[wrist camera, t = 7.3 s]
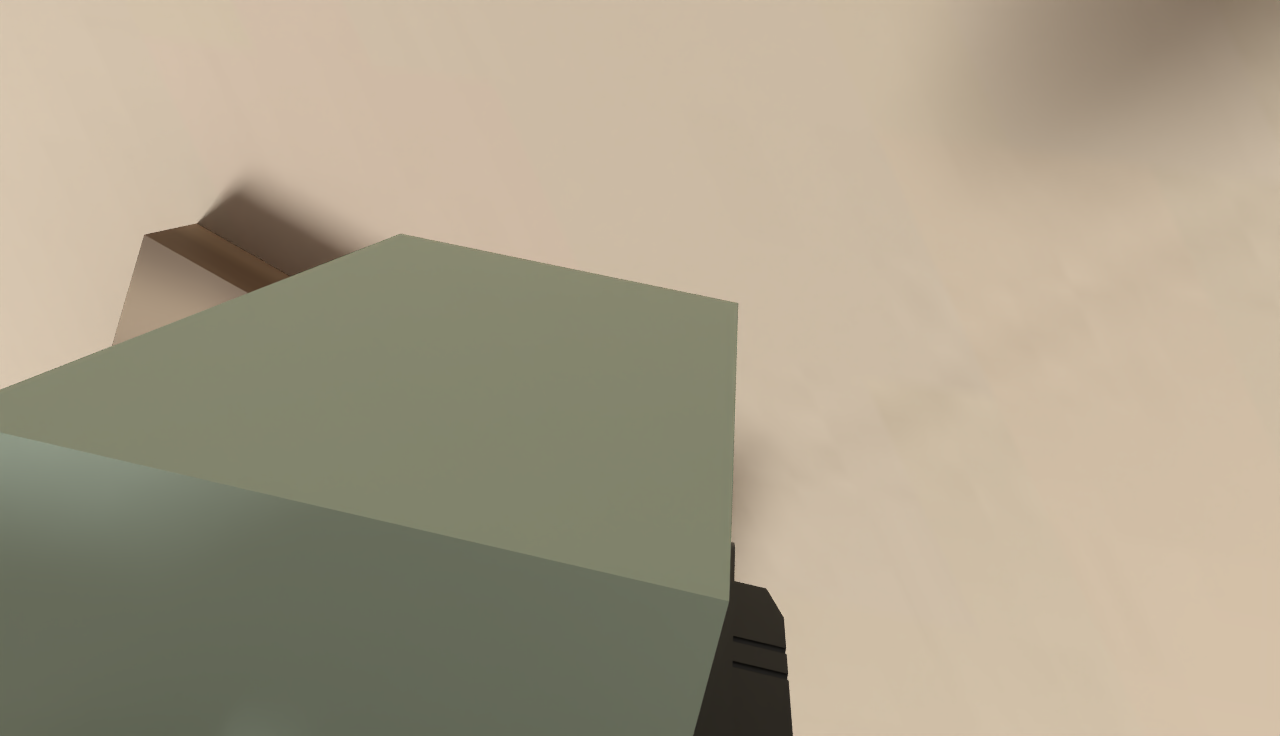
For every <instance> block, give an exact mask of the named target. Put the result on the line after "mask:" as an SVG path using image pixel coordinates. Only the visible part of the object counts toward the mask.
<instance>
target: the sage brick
mask: <svg viewBox="0 0 1280 736" xmlns="http://www.w3.org/2000/svg"><path fill="white" fill-rule="evenodd" d="M737 325H738V303H735V302H730V301H725V300H720V299H715V298H710V297H705V296H701V295H696V294H691V293H686V292H681V291H676V290H671V289H667V288H662V287H657V286H652V285H647V284H642V283H637V282H633V281H628V280H623V279H618V278H613V277H608V276H603V275H599V274H594V273H589V272H584V271H579V270H574V269H569V268H565V267H560V266H555V265H550V264H545V263H540V262H535V261H531V260H526V259H521V258H516V257H511V256H506V255H501V254H497V253H492V252H487V251H482V250H477V249H472V248H467V247H463V246H458V245H453V244H448V243H443V242H438V241H433V240H429V239H424V238H419V237H414V236H409V235H404V234H399V235H396V236H393V237H391V238H388V239H386V240H383V241H381V242H378V243H376V244H373V245H370V246H368V247H365V248H363V249H360V250H358V251H355V252H352V253H350V254H347V255H345V256H342V257H340V258H337V259H334V260H332V261H329V262H327V263H324V264H322V265H319V266H317V267H314V268H311V269H309V270H306V271H304V272H301V273H299V274H296V275H293V276H291V277H288V278H286V279H283V280H281V281H278V282H276V283H273V284H270V285H268V286H265V287H263V288H260V289H258V290H255V291H252V292H250V293H247V294H245V295H242V296H240V297H237V298H234V299H232V300H229V301H227V302H224V303H222V304H219V305H217V306H214V307H211V308H209V309H206V310H204V311H201V312H199V313H196V314H193V315H191V316H188V317H186V318H183V319H181V320H178V321H176V322H173V323H170V324H168V325H165V326H163V327H160V328H158V329H155V330H152V331H150V332H147V333H145V334H142V335H140V336H137V337H134V338H132V339H129V340H127V341H124V342H122V343H119V344H117V345H114V346H111V347H109V348H106V349H104V350H101V351H99V352H96V353H93V354H91V355H88V356H86V357H83V358H81V359H78V360H76V361H73V362H70V363H68V364H65V365H63V366H60V367H58V368H55V369H52V370H50V371H47V372H45V373H42V374H40V375H37V376H34V377H32V378H29V379H27V380H24V381H22V382H19V383H17V384H14V385H11V386H9V387H6V388H4V389H1V390H0V736H693V734H694V730H695V727H696V723H697V719H698V715H699V712H700V708H701V704H702V701H703V697H704V693H705V689H706V686H707V682H708V678H709V674H710V671H711V667H712V663H713V660H714V656H715V652H716V648H717V645H718V641H719V637H720V633H721V630H722V626H723V622H724V619H725V615H726V611H727V607H728V604H729V590H730V557H731V524H732V491H733V457H734V424H735V391H736V358H737Z"/></svg>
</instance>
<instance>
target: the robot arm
mask: <svg viewBox="0 0 1280 736" xmlns="http://www.w3.org/2000/svg"><path fill="white" fill-rule="evenodd" d="M734 566H735V544H734V543H732V542H731V557H730V590H729V604H728V607H727V611H726V615H725V619H724V622H723V626H722V630H721V633H720V637H719V641H718V645H717V648H716V652H715V656H714V660H713V663H712V667H711V671H710V674H709V678H708V682H707V686H706V689H705V693H704V697H703V701H702V704H701V708H700V712H699V715H698V719H697V723H696V727H695V730H694V734H693V736H793V733H792V720H791V707H790V693H789V681H788V680H787V676H788V667H787V654H785V651H786V641H785V628H784V617H783V616H782V614H781V612H780V611H779V609H778V607H777V606H776V604H775V602H774V601H773V599H772V597H771V596H770V594H769V592H768V591H767V589H766V588H761V587H757V586H753V585H749V584H744V583H740V582H736V581H734Z"/></svg>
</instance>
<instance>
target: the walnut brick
mask: <svg viewBox="0 0 1280 736" xmlns="http://www.w3.org/2000/svg"><path fill="white" fill-rule="evenodd" d="M288 277H290V276H289V275H287V274H285V273H283V272H282V271H280V270H278V269H276V268H275V267H273V266H271V265H269V264H267V263H266V262H264V261H262V260H260V259H259V258H257V257H255V256H253V255H252V254H250V253H248V252H246V251H244V250H243V249H241V248H239V247H237V246H236V245H234V244H232V243H230V242H229V241H227V240H225V239H223V238H222V237H220V236H218V235H216V234H214V233H213V232H211V231H209V230H207V229H206V228H204V227H202V226H200V225H199V224H192V225H188V226H183V227H178V228H174V229H169V230H164V231H160V232H155V233H150V234H146V235H144V238H143V241H142V244H141V248H140V251H139V255H138V258H137V262H136V265H135V268H134V272H133V275H132V279H131V282H130V286H129V289H128V292H127V296H126V299H125V303H124V306H123V310H122V313H121V316H120V320H119V323H118V327H117V330H116V334H115V337H114V341H113V344H112V346H114V345H117V344H119V343H122V342H124V341H127V340H129V339H132V338H134V337H137V336H140V335H142V334H145V333H147V332H150V331H152V330H155V329H158V328H160V327H163V326H165V325H168V324H170V323H173V322H176V321H178V320H181V319H183V318H186V317H188V316H191V315H193V314H196V313H199V312H201V311H204V310H206V309H209V308H211V307H214V306H217V305H219V304H222V303H224V302H227V301H229V300H232V299H234V298H237V297H240V296H242V295H245V294H247V293H250V292H252V291H255V290H258V289H260V288H263V287H265V286H268V285H270V284H273V283H276V282H278V281H281V280H283V279H286V278H288Z"/></svg>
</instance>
